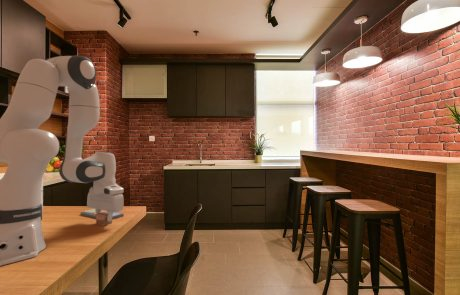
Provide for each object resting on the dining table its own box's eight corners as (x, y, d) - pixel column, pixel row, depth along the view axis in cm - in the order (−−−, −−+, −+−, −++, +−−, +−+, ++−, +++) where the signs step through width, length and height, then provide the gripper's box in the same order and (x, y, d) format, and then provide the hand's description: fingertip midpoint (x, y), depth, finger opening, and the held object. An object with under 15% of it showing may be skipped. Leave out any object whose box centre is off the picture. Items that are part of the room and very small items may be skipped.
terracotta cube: (102, 225, 110) (103, 215, 110) (96, 224, 112) (96, 213, 112) (112, 223, 114) (112, 212, 114) (105, 221, 116) (105, 211, 116)
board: (107, 220, 117) (107, 217, 117) (80, 214, 127) (80, 211, 127) (123, 216, 125) (123, 213, 125) (97, 210, 135) (97, 208, 135)
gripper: (83, 187, 115) (82, 218, 115) (113, 191, 105) (113, 225, 105) (96, 185, 121) (96, 215, 121) (126, 189, 111) (126, 221, 111)
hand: (104, 219), depth 113 cm, fingers closed on terracotta cube, 4 cm apart
